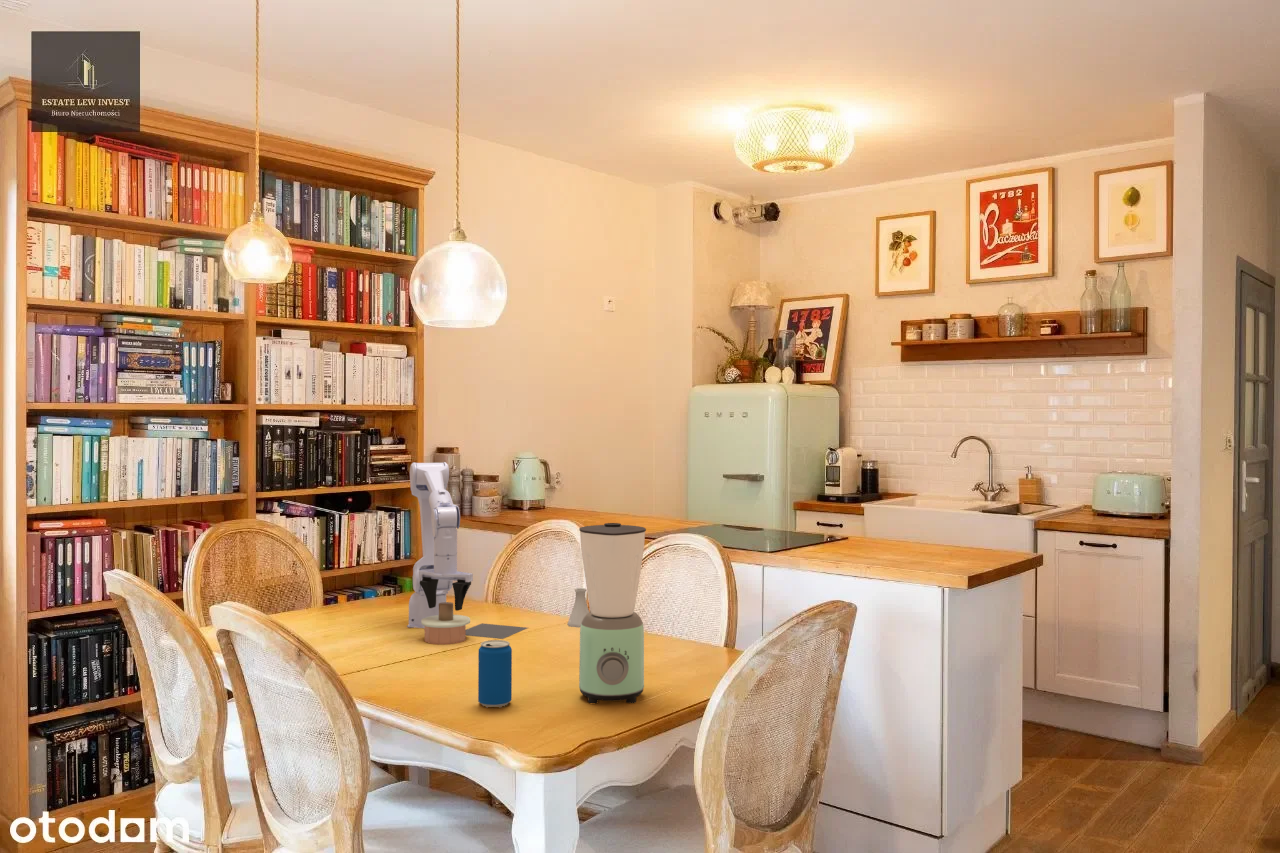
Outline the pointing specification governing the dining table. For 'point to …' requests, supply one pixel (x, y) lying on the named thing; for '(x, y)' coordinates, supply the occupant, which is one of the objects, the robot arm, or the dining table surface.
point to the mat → (493, 631)
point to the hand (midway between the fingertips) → (445, 608)
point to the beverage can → (495, 673)
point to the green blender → (612, 613)
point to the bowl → (445, 635)
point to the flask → (578, 608)
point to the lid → (445, 618)
